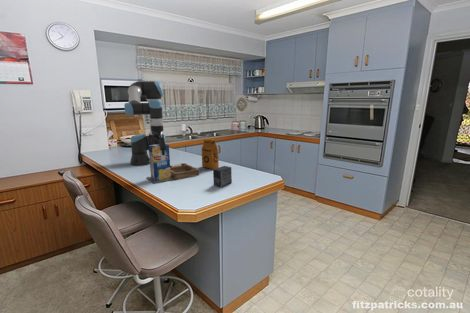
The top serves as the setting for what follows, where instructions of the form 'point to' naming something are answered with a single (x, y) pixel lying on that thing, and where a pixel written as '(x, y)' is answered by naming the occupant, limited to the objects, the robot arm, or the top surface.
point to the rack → (185, 167)
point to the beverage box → (159, 163)
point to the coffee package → (210, 154)
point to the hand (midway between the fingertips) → (159, 157)
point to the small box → (222, 176)
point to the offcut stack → (175, 165)
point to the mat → (160, 180)
